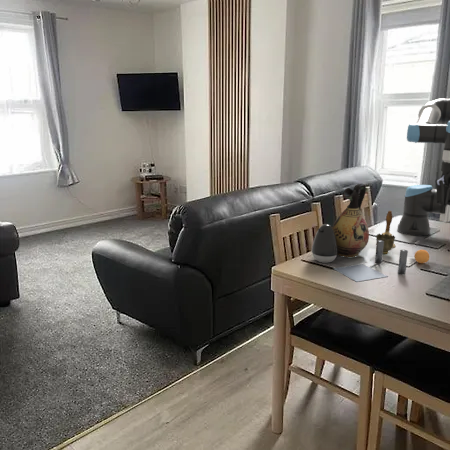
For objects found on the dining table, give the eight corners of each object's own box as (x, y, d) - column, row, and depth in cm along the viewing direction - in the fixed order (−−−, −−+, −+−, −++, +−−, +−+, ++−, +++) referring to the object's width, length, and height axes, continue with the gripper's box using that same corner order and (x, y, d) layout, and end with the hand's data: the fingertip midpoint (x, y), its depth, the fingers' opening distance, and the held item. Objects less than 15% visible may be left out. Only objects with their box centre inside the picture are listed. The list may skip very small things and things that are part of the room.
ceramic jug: (352, 263, 177) (359, 188, 169) (321, 253, 189) (326, 183, 181) (376, 254, 188) (384, 184, 180) (345, 245, 199) (351, 179, 191)
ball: (420, 260, 182) (422, 247, 180) (431, 264, 177) (433, 251, 175) (410, 261, 180) (412, 248, 178) (421, 266, 175) (422, 252, 173)
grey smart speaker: (305, 260, 179) (307, 224, 175) (320, 255, 186) (322, 219, 183) (327, 267, 172) (330, 229, 168) (341, 261, 179) (345, 224, 176)
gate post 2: (401, 272, 168) (404, 249, 166) (406, 274, 166) (409, 251, 164) (396, 272, 167) (398, 250, 165) (401, 275, 165) (403, 252, 163)
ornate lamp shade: (376, 249, 194) (378, 232, 192) (394, 252, 190) (396, 234, 188) (372, 254, 188) (374, 236, 185) (391, 257, 184) (393, 239, 182)
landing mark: (362, 264, 176) (362, 263, 176) (387, 276, 163) (387, 276, 163) (333, 268, 171) (333, 268, 171) (356, 282, 158) (356, 281, 158)
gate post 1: (378, 261, 179) (380, 239, 177) (383, 263, 177) (385, 241, 175) (373, 262, 179) (375, 240, 176) (377, 264, 176) (380, 242, 174)
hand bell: (392, 243, 204) (396, 209, 200) (397, 248, 196) (401, 213, 192) (374, 242, 205) (377, 208, 200) (378, 248, 197) (381, 212, 192)
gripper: (447, 163, 165) (438, 225, 171) (474, 162, 170) (465, 221, 177) (431, 161, 172) (423, 220, 178) (457, 159, 177) (449, 217, 183)
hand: (444, 221), depth 177 cm, fingers closed
